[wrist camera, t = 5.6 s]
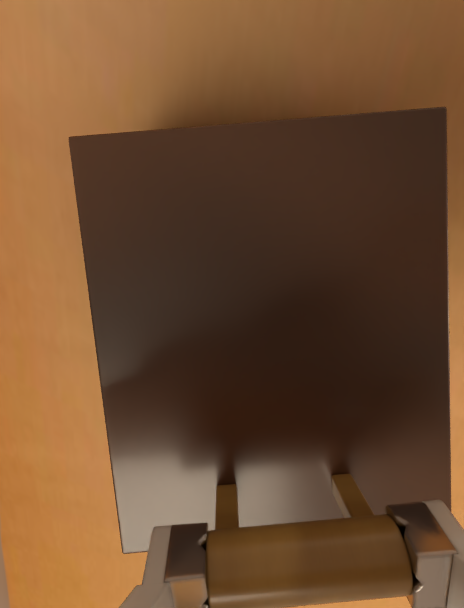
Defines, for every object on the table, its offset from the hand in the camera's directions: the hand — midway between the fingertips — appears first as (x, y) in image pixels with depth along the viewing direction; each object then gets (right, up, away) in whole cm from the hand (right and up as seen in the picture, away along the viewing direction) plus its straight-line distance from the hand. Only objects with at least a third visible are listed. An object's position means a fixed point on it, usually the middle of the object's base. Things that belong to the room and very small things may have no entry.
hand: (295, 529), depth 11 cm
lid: (0, +5, +3) cm, 6 cm away
